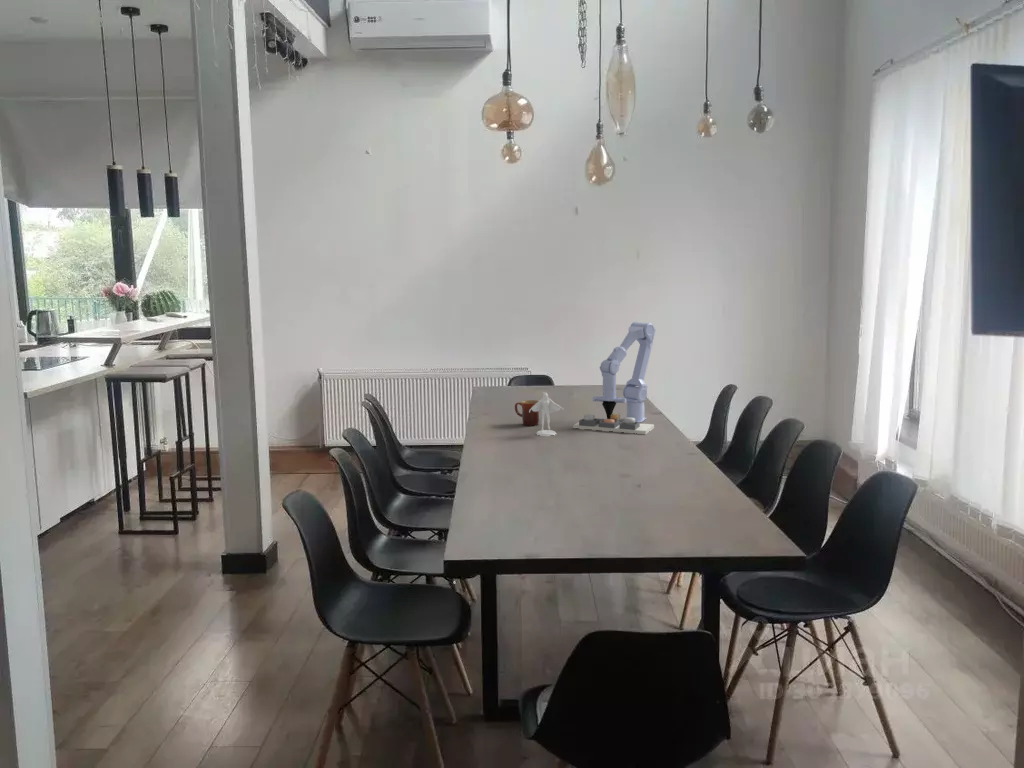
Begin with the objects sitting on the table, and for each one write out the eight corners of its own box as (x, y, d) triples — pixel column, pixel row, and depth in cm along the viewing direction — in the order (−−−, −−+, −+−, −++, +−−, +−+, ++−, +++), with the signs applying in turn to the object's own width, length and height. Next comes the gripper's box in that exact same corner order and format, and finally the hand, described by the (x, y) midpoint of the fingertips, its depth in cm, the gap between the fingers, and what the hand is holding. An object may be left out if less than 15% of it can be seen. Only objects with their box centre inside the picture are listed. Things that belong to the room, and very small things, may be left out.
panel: (583, 422, 360) (583, 414, 359) (654, 427, 347) (654, 419, 346) (573, 428, 348) (573, 420, 347) (645, 434, 334) (645, 426, 334)
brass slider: (613, 421, 353) (613, 413, 352) (619, 421, 352) (620, 413, 351) (610, 422, 349) (610, 414, 349) (617, 423, 348) (617, 415, 348)
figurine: (529, 436, 334) (528, 393, 331) (530, 430, 345) (529, 389, 342) (564, 436, 334) (563, 393, 331) (563, 430, 344) (563, 389, 341)
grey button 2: (625, 422, 344) (625, 416, 343) (636, 423, 342) (636, 417, 341) (622, 424, 340) (622, 419, 339) (633, 425, 338) (633, 419, 337)
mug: (543, 423, 359) (543, 400, 357) (535, 427, 351) (534, 404, 350) (519, 421, 365) (519, 399, 363) (510, 425, 357) (510, 402, 355)
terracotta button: (605, 424, 348) (605, 418, 347) (615, 425, 346) (616, 419, 345) (602, 426, 343) (602, 420, 343) (612, 427, 342) (612, 421, 341)
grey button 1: (585, 419, 351) (585, 414, 351) (595, 420, 349) (595, 414, 349) (582, 421, 347) (582, 416, 347) (592, 422, 345) (592, 416, 345)
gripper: (590, 388, 349) (590, 419, 351) (622, 390, 343) (622, 421, 345) (595, 385, 355) (595, 416, 357) (627, 387, 349) (627, 418, 351)
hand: (609, 418), depth 352 cm, fingers closed
